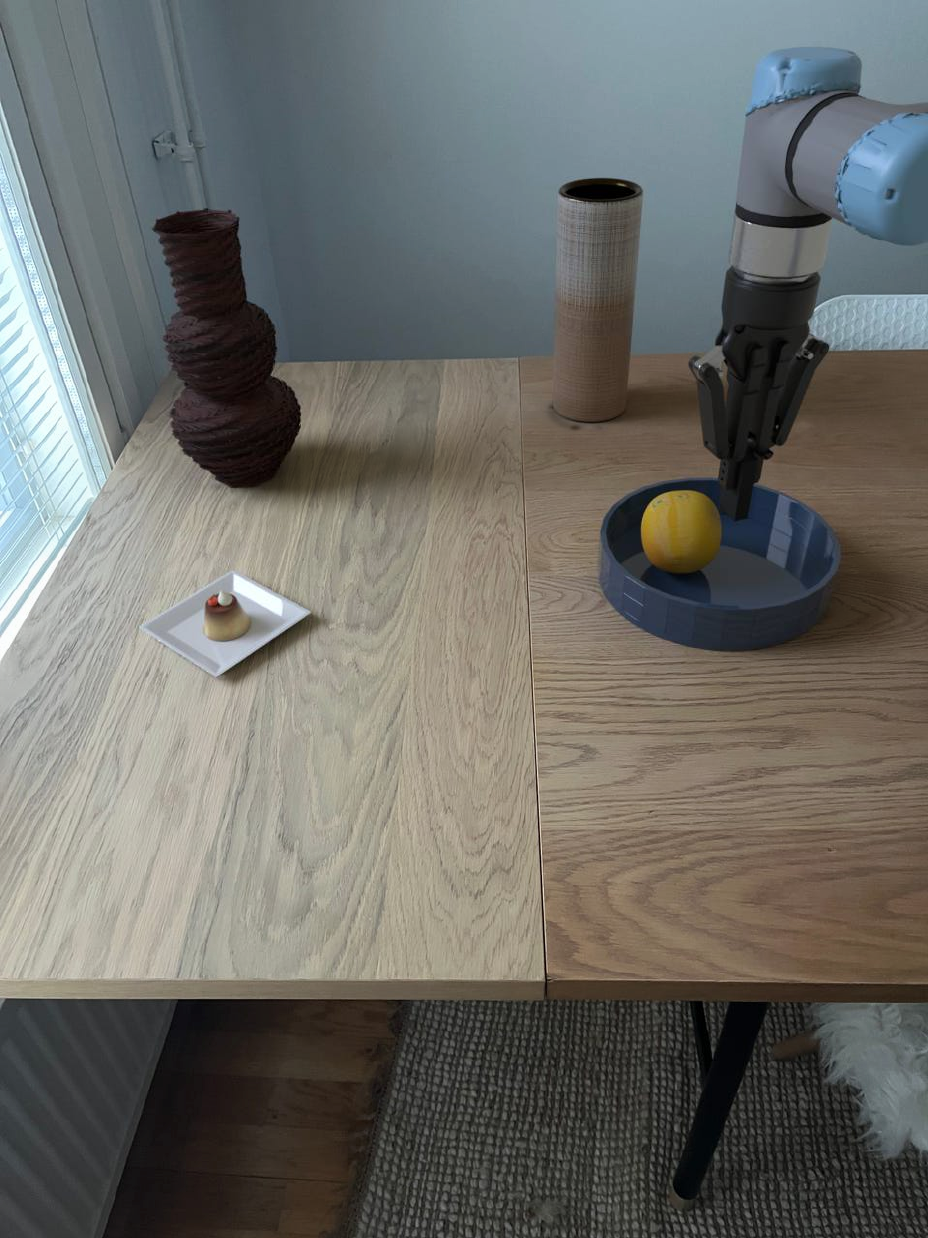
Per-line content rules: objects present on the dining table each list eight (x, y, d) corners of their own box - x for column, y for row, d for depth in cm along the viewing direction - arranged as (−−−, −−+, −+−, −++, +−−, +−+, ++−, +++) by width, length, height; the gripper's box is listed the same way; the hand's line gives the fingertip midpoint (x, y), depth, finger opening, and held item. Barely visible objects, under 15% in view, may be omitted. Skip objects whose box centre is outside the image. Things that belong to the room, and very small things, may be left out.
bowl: (825, 528, 104) (834, 488, 101) (835, 666, 86) (847, 624, 83) (613, 506, 109) (616, 468, 106) (582, 633, 91) (584, 592, 88)
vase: (176, 509, 112) (106, 248, 93) (193, 446, 124) (134, 204, 105) (307, 498, 112) (264, 238, 94) (311, 437, 124) (274, 195, 105)
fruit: (634, 547, 101) (629, 483, 96) (710, 532, 101) (708, 467, 96) (653, 596, 94) (648, 529, 89) (734, 580, 94) (733, 513, 89)
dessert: (140, 635, 94) (128, 597, 90) (235, 577, 101) (226, 540, 98) (218, 686, 87) (207, 646, 84) (313, 620, 94) (306, 582, 91)
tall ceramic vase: (594, 383, 134) (605, 172, 116) (641, 409, 127) (661, 189, 110) (537, 403, 130) (541, 187, 112) (583, 430, 123) (594, 205, 106)
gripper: (813, 243, 82) (768, 481, 97) (680, 266, 79) (654, 508, 94) (870, 270, 76) (813, 517, 91) (729, 295, 73) (694, 547, 88)
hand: (733, 512), depth 92 cm, fingers closed
